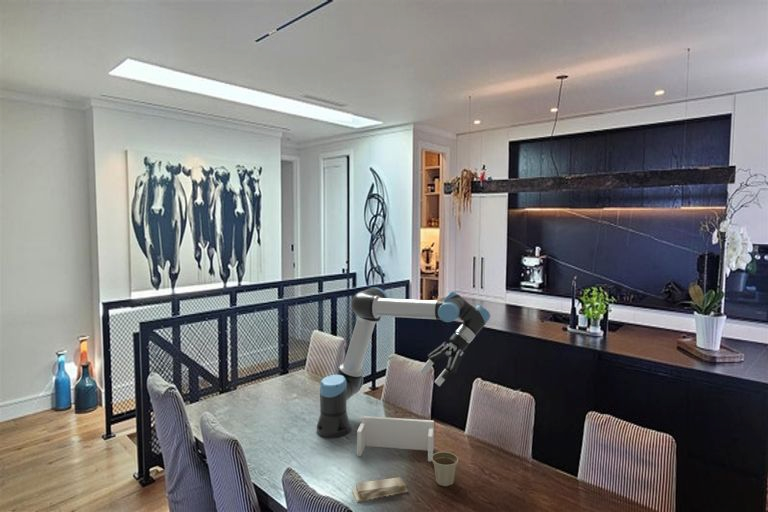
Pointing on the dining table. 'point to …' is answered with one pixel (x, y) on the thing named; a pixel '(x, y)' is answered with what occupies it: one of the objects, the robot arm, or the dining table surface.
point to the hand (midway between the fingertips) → (428, 378)
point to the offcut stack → (379, 488)
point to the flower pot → (444, 467)
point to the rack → (396, 434)
